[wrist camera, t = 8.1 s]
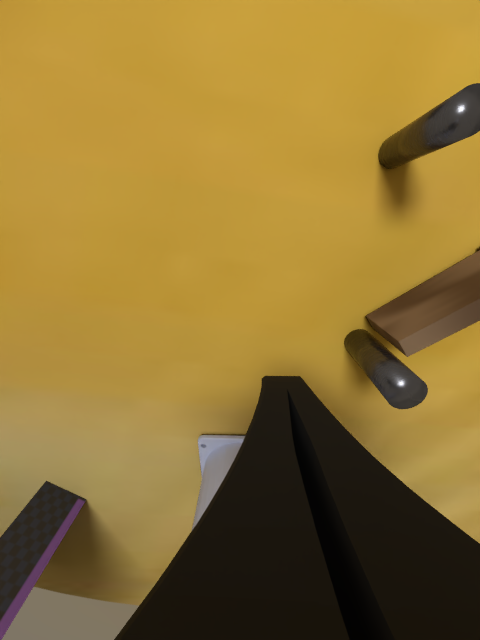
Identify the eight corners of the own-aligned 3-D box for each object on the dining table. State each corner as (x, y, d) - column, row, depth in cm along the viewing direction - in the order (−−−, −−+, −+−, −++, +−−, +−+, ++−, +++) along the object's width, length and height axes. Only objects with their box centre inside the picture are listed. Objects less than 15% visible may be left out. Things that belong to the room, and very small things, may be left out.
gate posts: (369, 353, 18) (421, 409, 12) (342, 352, 18) (383, 408, 12) (415, 134, 13) (539, 63, 7) (378, 135, 13) (473, 66, 7)
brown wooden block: (374, 330, 17) (413, 363, 13) (364, 313, 17) (401, 342, 12) (501, 260, 15) (596, 272, 11) (494, 238, 14) (590, 242, 10)
